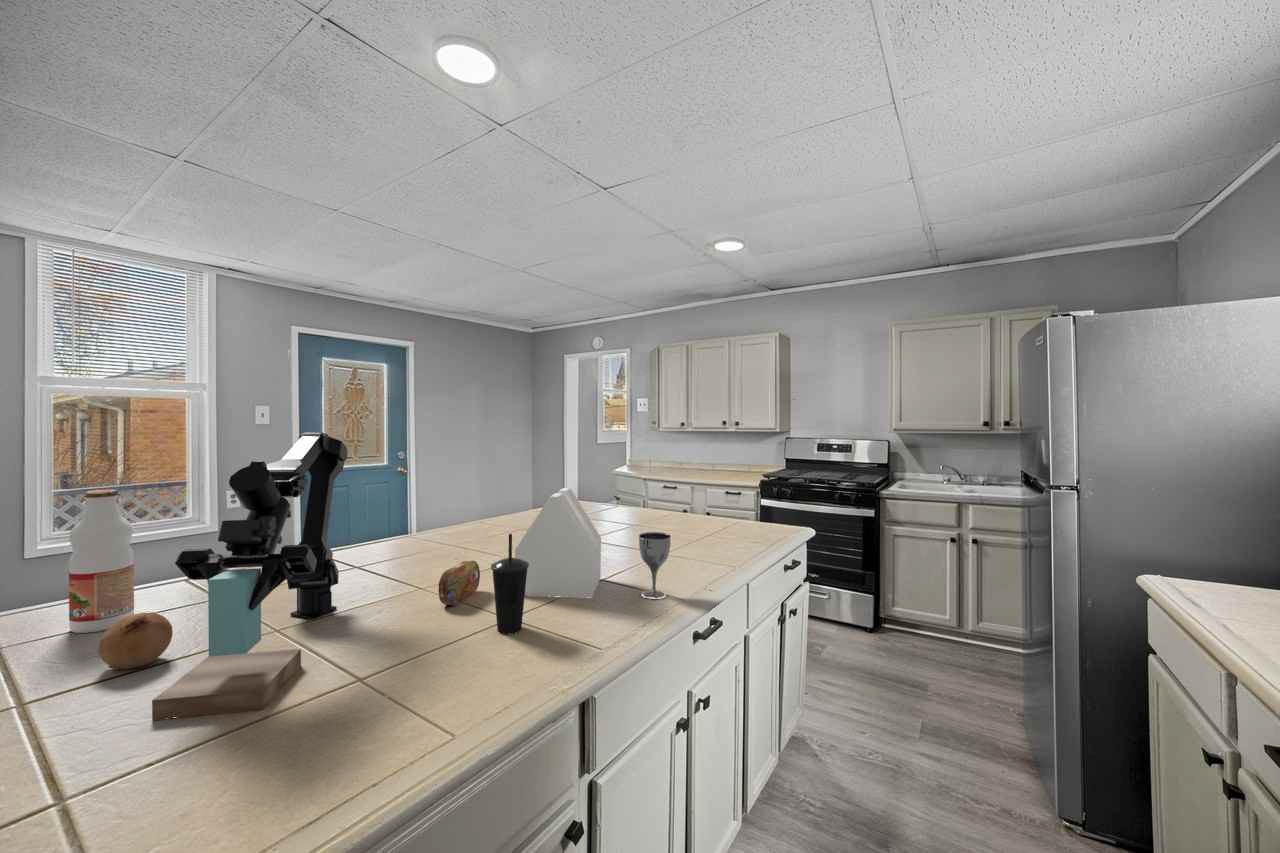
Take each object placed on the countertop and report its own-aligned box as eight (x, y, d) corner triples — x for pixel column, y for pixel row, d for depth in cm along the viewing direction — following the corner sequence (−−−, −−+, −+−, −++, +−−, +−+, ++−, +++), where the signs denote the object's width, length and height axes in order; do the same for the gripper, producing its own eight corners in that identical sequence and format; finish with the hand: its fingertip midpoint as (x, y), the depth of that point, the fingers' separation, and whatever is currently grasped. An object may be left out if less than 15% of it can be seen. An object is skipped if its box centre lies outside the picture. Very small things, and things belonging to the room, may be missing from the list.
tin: (448, 611, 118) (448, 574, 118) (435, 609, 119) (435, 573, 119) (481, 589, 133) (481, 556, 133) (469, 588, 133) (470, 556, 133)
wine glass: (675, 593, 131) (676, 534, 131) (659, 603, 125) (660, 540, 124) (648, 587, 136) (649, 530, 135) (632, 596, 129) (632, 536, 129)
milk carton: (514, 596, 128) (515, 495, 128) (531, 577, 144) (532, 487, 143) (591, 598, 127) (592, 497, 127) (600, 579, 143) (601, 488, 142)
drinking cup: (535, 625, 111) (536, 531, 110) (515, 639, 103) (516, 539, 103) (504, 620, 113) (505, 528, 113) (482, 633, 106) (483, 536, 105)
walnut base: (209, 673, 88) (208, 656, 88) (300, 665, 92) (301, 648, 92) (152, 720, 75) (152, 700, 75) (262, 709, 78) (262, 689, 78)
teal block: (226, 642, 85) (225, 570, 85) (261, 640, 86) (260, 568, 86) (208, 656, 80) (208, 579, 80) (245, 653, 81) (245, 577, 81)
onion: (143, 687, 89) (143, 644, 86) (82, 676, 88) (79, 632, 84) (185, 645, 98) (187, 605, 95) (131, 634, 97) (130, 593, 93)
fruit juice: (127, 627, 107) (126, 492, 106) (61, 638, 101) (59, 495, 101) (139, 613, 114) (138, 486, 114) (78, 621, 109) (77, 489, 109)
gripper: (181, 500, 84) (133, 590, 74) (310, 497, 89) (282, 582, 78) (209, 537, 92) (170, 623, 82) (326, 533, 96) (303, 614, 86)
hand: (231, 610), depth 82 cm, fingers closed on teal block, 5 cm apart
